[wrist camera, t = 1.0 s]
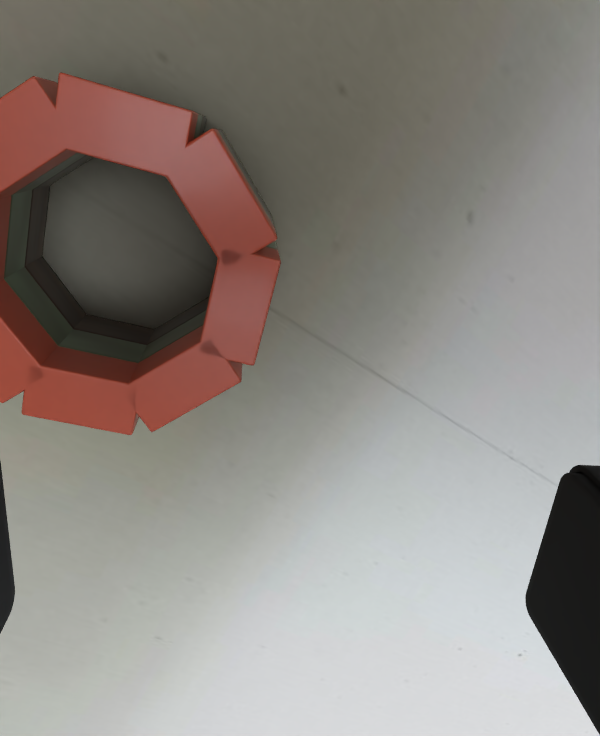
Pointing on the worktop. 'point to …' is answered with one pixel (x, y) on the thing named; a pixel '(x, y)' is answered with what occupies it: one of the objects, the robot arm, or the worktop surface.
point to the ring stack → (55, 301)
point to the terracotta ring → (208, 210)
